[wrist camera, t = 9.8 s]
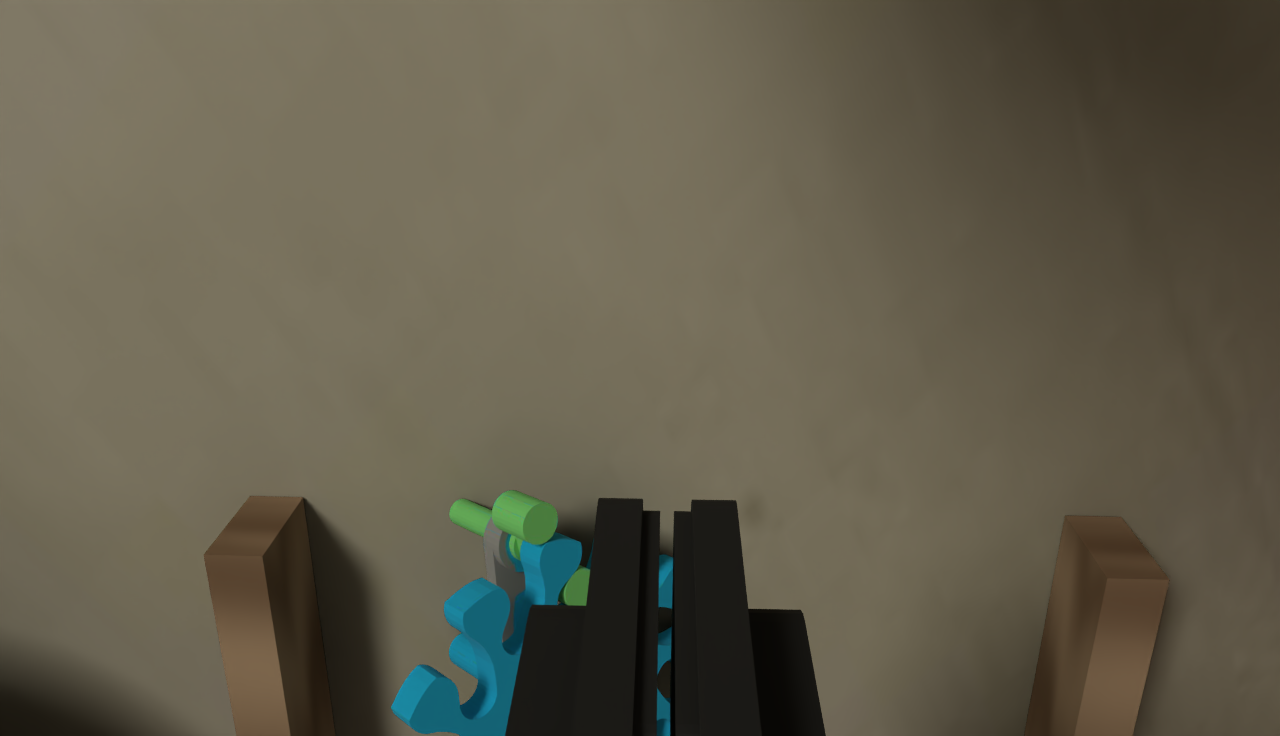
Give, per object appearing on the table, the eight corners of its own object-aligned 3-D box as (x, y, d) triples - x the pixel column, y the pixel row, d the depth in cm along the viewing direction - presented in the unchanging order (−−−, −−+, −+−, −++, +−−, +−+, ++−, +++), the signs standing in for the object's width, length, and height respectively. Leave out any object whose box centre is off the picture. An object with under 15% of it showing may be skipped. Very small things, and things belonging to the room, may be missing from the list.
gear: (735, 803, 30) (442, 1012, 24) (605, 724, 34) (328, 882, 28) (718, 447, 27) (381, 575, 21) (579, 410, 32) (265, 506, 25)
